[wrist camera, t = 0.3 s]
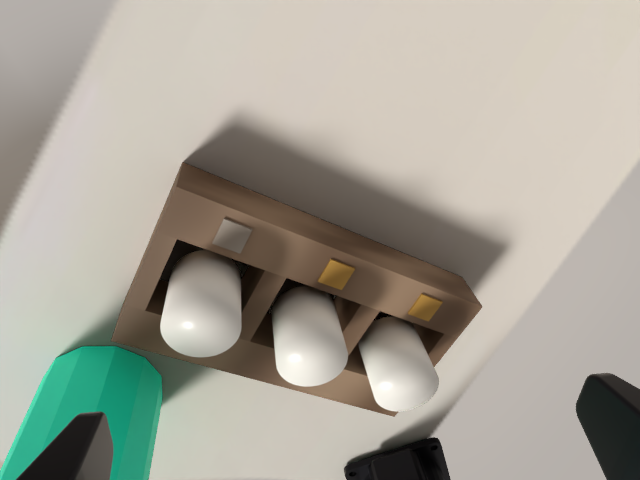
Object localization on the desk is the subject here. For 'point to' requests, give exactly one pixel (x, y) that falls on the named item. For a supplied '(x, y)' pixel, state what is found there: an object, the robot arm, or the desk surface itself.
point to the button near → (202, 305)
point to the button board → (296, 264)
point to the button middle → (307, 337)
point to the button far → (397, 365)
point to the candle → (94, 408)
